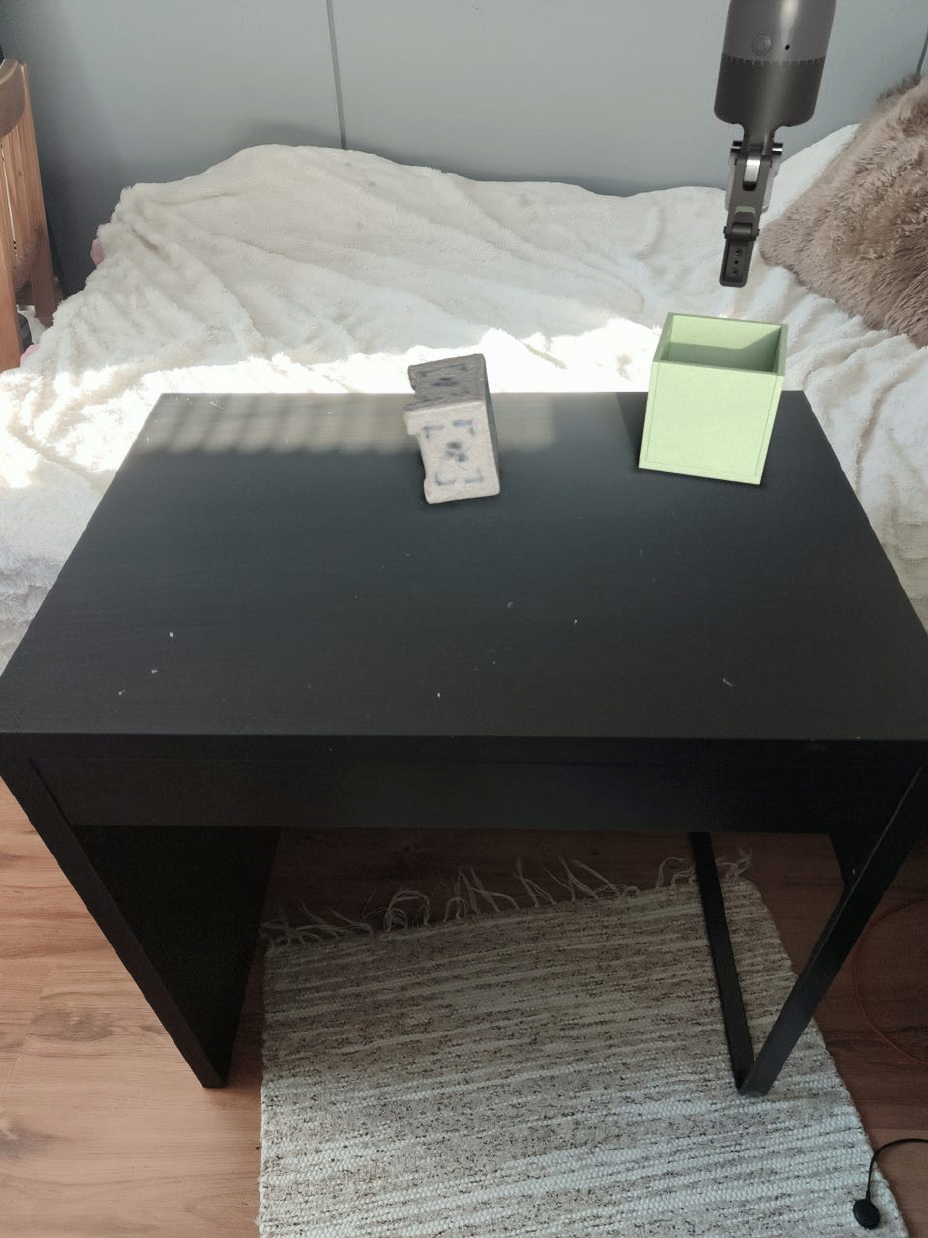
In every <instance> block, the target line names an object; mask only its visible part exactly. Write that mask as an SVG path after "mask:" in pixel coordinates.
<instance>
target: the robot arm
mask: <svg viewBox="0 0 928 1238" xmlns="http://www.w3.org/2000/svg"><path fill="white" fill-rule="evenodd" d="M836 8H837V0H730V2H729V5H728V9H727V15H726V20H725V21H726V22H725V29H724V36H723V42H722V49H721V57H720V64H719V70H718V78H717V84H716V89H715V90H716V91H715V98H714V104H713V105H714V106H713V112H714V113H713V114H714V115H715V117H716V118H717V119H718V120H720V121H721V122H724V123H726V124H728V125H739V126H741V127H742V129H743V135H742V139H733V140H732V144H731V147H730V150H729V156H728V160H727V171H726V172H727V174H728V180H727V186H726V189H725V190H726V191H725V197H724V206H723V207H724V209H725V211H727V217H726V223H725V225H723V229H722V230H723V231H722V234H723V235H724V236H723V238H724V240H725V243H724V249H723V255H722V261H721V267H720V273H719V280H718V283H719V285H720V286H722V287H727V288H735V289H736V288H738V289H741V288H745V286H746V285H747V283H748V278H749V272H750V267H751V261H752V257H753V256H752V255H753V251H754V245H755V242H757V239H758V238H759V236H760V232H761V228H760V221H761V216H762V215H763V214H765V213H767V212H768V210H769V207H770V203H771V197H772V191H773V186H774V182H775V178H776V177H777V176H778V175H779V170H780V168H781V167H780V166H781V161H782V156H783V148H784V142H783V141H775V135H776V132H777V131H778V130H779V129H780V128H782V127H787V128H793V127H797V126H801V125H804V124H806V123H808V122H809V121H810V120H811V119H812V118H813V117H814V115H815V111H816V106H817V101H818V97H819V93H820V87H821V83H822V78H823V74H824V69H825V63H826V58H827V54H828V48H829V44H830V39H831V35H832V31H833V27H834V21H835V15H836Z"/></svg>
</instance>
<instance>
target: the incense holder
mask: <svg viewBox="0 0 928 1238" xmlns="http://www.w3.org/2000/svg"><path fill="white" fill-rule="evenodd" d="M406 372H407V376H408V381H409V384H410V385H409V386H410V388H411V390H413V391H414V398H413V401H412V402H411V403H407V404H404V405H403V409H402V418H403V423H404V424H403V425H404V427H405V432H406V435H409V436H414V437H415V438H416V440H417V443H418V447H419V451H420V454H421V459H422V462H423V466H424V467H423V468H424V471H425V479H424V480H423V489H424V490H423V491H424V495H425V499H426V502H428V504H430V505H432V504H439V503H444V502H445V503H446V502H450V501H456V500H464V499H475V498H483V497H490V496H497V495H498V494H500V492H501V479H500V468H499V466H500V465H499V441H498V432H497V427H496V422H495V421H496V420H495V414H494V409H493V405H492V404H493V403H492V396H491V389H490V384H489V383H490V382H489V377H488V369H487V361H486V358H485V354H484V353H481V352H480V353H477V352H475V353H471V354H466V355H459V356H455V357H447V358H441V359H438V360H430V361H426V362H422V363H417V364H410V365H408V366H407V371H406Z"/></svg>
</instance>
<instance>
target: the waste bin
mask: <svg viewBox="0 0 928 1238" xmlns="http://www.w3.org/2000/svg"><path fill="white" fill-rule="evenodd" d="M788 337H789V323H781V322H780V323H778V322H769V321H758V320H748V319H739V318H730V317H719V316H708V315H699V314H691V313H690V314H689V313H681V312H680V313H679V312H669V311H668V312H667V315H666V318H665V321H664V324H663V328H662V329H661V333H660V336H659V339H658V343H657V346H656V349H655V352H654V355H653V358H652V361H651V368H650V374H649V376H650V377H649V384H648V391H647V400H646V407H645V415H644V422H643V430H642V439H641V445H640V453H639V461H638V468H639V469H645V470H653V471H661V472H667V473H675V474H681V475H688V476H696V477H702V478H711V479H718V480H725V481H731V482H739V483H746V484H753V485H760V483H761V479H762V476H763V472H764V467H765V463H766V458H767V454H768V449H769V445H770V440H771V437H772V433H773V428H774V424H775V419H776V416H777V411H778V408H779V402H780V399H781V394H782V390H783V386H784V380H785V376H786V362H787V351H788Z"/></svg>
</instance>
